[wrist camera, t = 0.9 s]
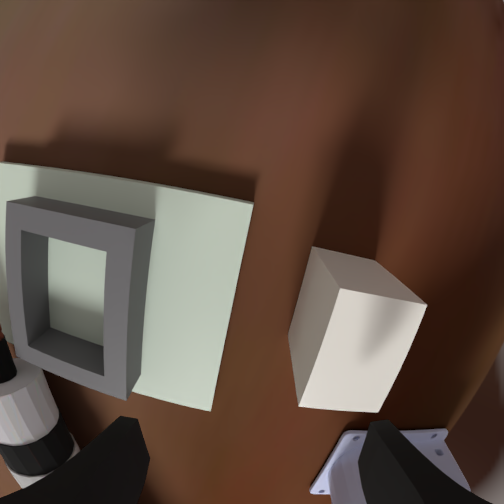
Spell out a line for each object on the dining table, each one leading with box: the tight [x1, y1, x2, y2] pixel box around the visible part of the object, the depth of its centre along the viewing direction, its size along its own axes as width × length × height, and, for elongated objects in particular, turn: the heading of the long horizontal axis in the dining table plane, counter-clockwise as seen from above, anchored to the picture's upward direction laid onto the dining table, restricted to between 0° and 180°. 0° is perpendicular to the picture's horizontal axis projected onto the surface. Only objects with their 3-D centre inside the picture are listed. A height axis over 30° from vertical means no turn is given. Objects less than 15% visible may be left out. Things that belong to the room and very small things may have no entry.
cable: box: [0, 324, 80, 489], centre depth 16 cm, size 10×34×10 cm, turn 4°
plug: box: [288, 246, 427, 413], centre depth 14 cm, size 4×5×6 cm
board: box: [0, 162, 254, 411], centre depth 15 cm, size 16×12×4 cm
